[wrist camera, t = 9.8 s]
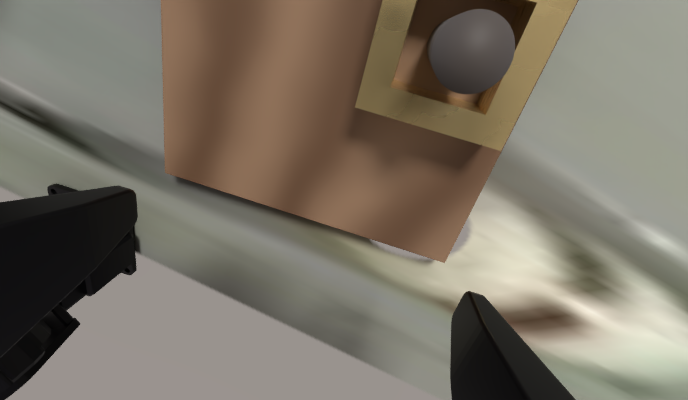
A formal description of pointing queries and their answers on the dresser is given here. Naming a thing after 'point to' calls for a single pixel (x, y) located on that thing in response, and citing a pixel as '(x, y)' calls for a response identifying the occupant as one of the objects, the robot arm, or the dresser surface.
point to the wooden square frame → (449, 112)
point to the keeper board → (330, 111)
